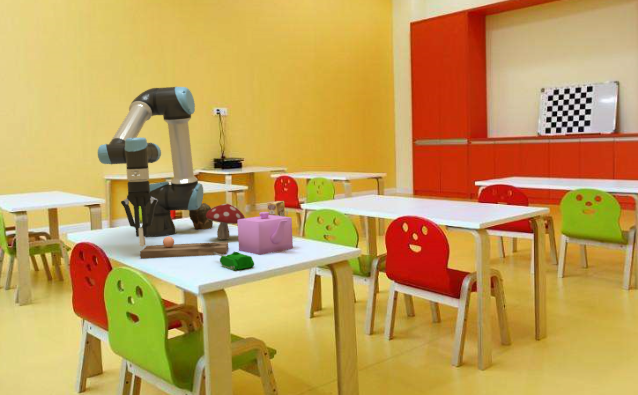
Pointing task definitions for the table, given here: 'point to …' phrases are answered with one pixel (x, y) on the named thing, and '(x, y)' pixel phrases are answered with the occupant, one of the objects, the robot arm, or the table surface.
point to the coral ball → (168, 241)
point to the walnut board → (184, 250)
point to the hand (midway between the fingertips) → (142, 245)
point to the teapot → (265, 234)
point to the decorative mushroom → (224, 218)
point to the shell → (201, 217)
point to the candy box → (276, 208)
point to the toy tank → (236, 261)
